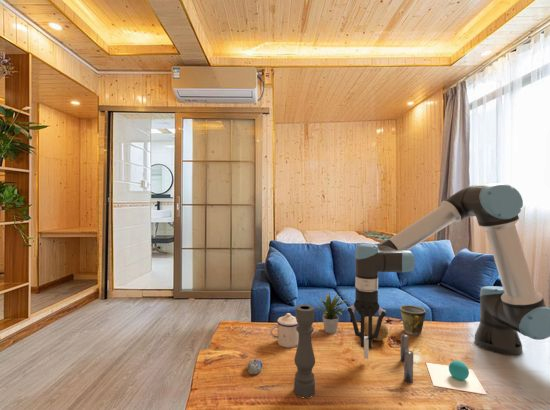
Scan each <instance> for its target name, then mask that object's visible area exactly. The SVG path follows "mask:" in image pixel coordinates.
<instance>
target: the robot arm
mask: <svg viewBox="0 0 550 410" xmlns="http://www.w3.org/2000/svg"><path fill="white" fill-rule="evenodd" d="M523 206H524V200H523V198H522V195H521V193H520V191H519V190H517V189H516V188H515V187H513V186H511V185H509V184H507V183H497V182H496V183H495V182H493V183H487V184H486V183H485V184H484V183H483V184H474V185H473V184H472V185H470V186H466V187H464V188H462V189H460V190H459V191H456V192H455V193H454V194H452V195H451V196H449V197H447V198H446V199H444V200H442V201H441V203H440V206H438V207H436V208H435V209H433V210H432V211H430V212H429V213H428V214H426V215H424V216H423V217H421V218H419V219H418V220H416V221H415V222H413V223H412V224H410V225H408V226H406V227H405V228H404V229H402V230H401V231H399V232H397V233H396V234H395V235H393V236H391V237H389V238H388V239H386V240H385V241H382V242H381V243H375V244H374V243H358V244H357V246H356V247H355V256H354V258H355V284H354V286H355V291H354V292H355V293H354V295H355V296H354V297H355V300H354V302H353V304H352V305H348V306H347V312H348V313H349V315H350V319H351V323H352V327H353V330H354V334H355V336H356V337H359V338H360V347H361V348H363V359H367V360H368V359H369V352H370V351H369V349H372V348H373V339H374V338H375V339H377V338H378V334H379V330H380V327H381V323H382V321H383V320H384V317H385V316H386V314H387V312H386V310H385V309H384V308H382V307H380V303H379V291H378V289H379V273H402V274H403V273H410V272H412V271H414V268H415V265H416V260H415V256H414V254H413V252H412V251H411V249H413V248H414V247H416V246H418V245H419V244H420V243H423V242H424V241H426V240H427V239H428V238H430V237H432V236H434V235H435V234H437V233H438V232H440V231H441V230H443V229H445V228H447V226H449V225H452V224H453V223H454V222H456V223H459V222H461V221H463V220H464V219H468V218H471V217H475V218H476V220H477V224H478V227H480V228H482V229H484V230H485V233H486V236H487V239H488V243H489V246H490V249H491V252H492V255H493V259H494V263H495V266H496V268H497V272H498V275H499V279H500V282H501V286H497V285H495V286H494V285H490V286H489V285H488V286H487V285H486V286H482V287H481V288H480V294H479V297H480V298H479V302H480V303H479V324H478V326H477V329H476V331H475V333H474V343H475V344H476V345H477V346H478V347H481V348H483V349H484V350H487V351H490V352H493V353H496V354H501V355H505V356H506V355H507V356H518V355H520V354H522V353H523V344H522V341H521V338H520V336H519V334H521V335H523V336H524V337H528V338H530V339H532V340H536V341H537V340H545V339H548V338H550V307H548V306H546V303H545V302H546V301H545V300H544V296H543V295H542V293H541V292H539V291H537V290H536V289H535V286H534V282H533V280H532V276H531V273H530V269H529V266H528V263H527V262H528V261H527V260H526V259H527V258H526V257H525V253H524V249H523V246H522V243H521V239H520V236H519V233H518V230H517V226H516V224H517V222H518V221H519V220H520V217H519V214H520V213H521V212H522V208H523ZM356 311H357V313H358V314H359V315H360V330H359V326H358V322H357V317H356V313H355V312H356ZM377 312H378V317H377V318H378V320H377V324H376V327H375V331H374V333H372V316H374V317H375V314H376V313H377ZM365 317H368V336H367V335H365V332H364V319H365Z"/></svg>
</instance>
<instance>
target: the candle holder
mask: <svg viewBox="0 0 550 410" xmlns="http://www.w3.org/2000/svg"><path fill="white" fill-rule="evenodd" d="M315 309H316V308H315V306H314V305H311V304H305V303H304V304H297V305H296V306H295V317H296V321H297V323H298V326H297V327H296V330H297V332H298V333H299V338H298V345H297V346H296V350H295V351H296V352H295V356H294V364H295V366H296V369H297V371H296V372H295V376H294V377H295V378H294V379H293V381H294V382H293V383H294V385H293V387H294V388H293V389H294V391H293V392H295V393H294V394H295V395H296V397H298V396H300V397H299V398H301V397H304V398H303V399H308V398H307V397H311V396H313V395H314V396H315V394H316V380H315V374H314V373H313V368H314V366H316V365H315V364H316V356H315V353H314V348H313V343H312V334H313V332H314V331H315V330H314V329H315V328H314V327H313V323H314V322H315V320H316V319H315V317H316V316H315V315H316V314H315V312H316V311H315ZM314 396H313V397H314ZM311 398H312V397H311Z"/></svg>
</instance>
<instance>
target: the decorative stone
mask: <svg viewBox="0 0 550 410" xmlns="http://www.w3.org/2000/svg"><path fill="white" fill-rule="evenodd" d="M262 369H263V362H262V360H261V359H259V358H252V359H250V360H249V362H248V365H247V372H248V374H250V375H257V374H260V372H261V371H262Z"/></svg>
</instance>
